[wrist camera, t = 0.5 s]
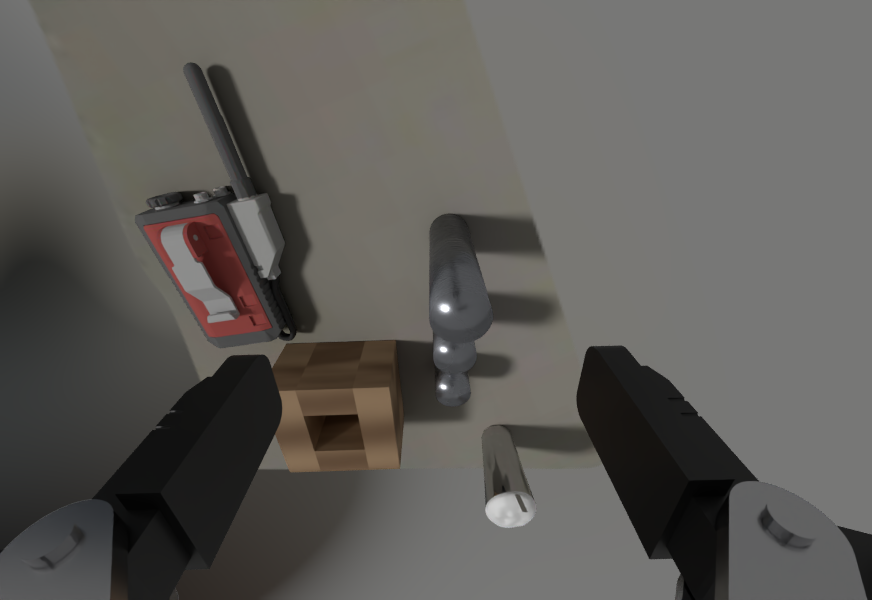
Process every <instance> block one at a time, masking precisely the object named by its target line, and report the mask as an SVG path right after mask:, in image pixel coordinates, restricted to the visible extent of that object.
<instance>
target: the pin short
mask: <svg viewBox="0 0 872 600" xmlns="http://www.w3.org/2000/svg"><path fill="white" fill-rule="evenodd" d="M435 386H436V398H437V400H438V401H439V402H440V403H442V404H443V405H446V406H459V405H462V404H464V403H465V402H466V401H467V400H468V399H469V398H470V394H471V392H470V385H469V377H468V370H467V371H466V372H463V373H459V374H449V373H445V372H443V371H441V370H440V369H438V368H437V367H436V365H435Z"/></svg>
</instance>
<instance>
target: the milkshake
mask: <svg viewBox="0 0 872 600" xmlns="http://www.w3.org/2000/svg"><path fill="white" fill-rule="evenodd" d="M481 439H482V453H483V468H484V482H485V505H486V506H485V507H486V514H487V517H488V518H489V519H490V520H491V521H492V522H493V523H495V524H496V525H498V526H500V527H503V528H513V527H516V526H524V525H525V524H527V523H528V522H529V521H530V520H532V519H533V518H534V516H535V513H536V509H537V508H536V503H535V501H534V498H533V495H532V492H531V490H530V487H529V484H528V481H527V479H526V476H525V474H524V471H523V467H522V464H521V461H520V458H519V455H518V452H517V449H516V446H515V443H514V440H513V437H512V434H511V432H510V431H509V429H508V428H507V427H504V426H501V425H496V426H490V427H489V428H487V429H485V430H484V431H483V434H482V437H481Z"/></svg>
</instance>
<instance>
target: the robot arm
mask: <svg viewBox="0 0 872 600" xmlns="http://www.w3.org/2000/svg"><path fill="white" fill-rule="evenodd" d="M577 408H578V412H579V416H580V418H581V420H582V422H583V424H584V426H585V428H586V430H587V433H588V435H589V437H590V439H591V441H592V443H593V445H594V447H595V449H596V451H597V453H598V455H599V457H600V459H601V461H602V463H603V465H604V467H605V469H606V471H607V473H608V475H609V477H610V479H611V481H612V483H613V485H614V488H615V490H616V492H617V494H618V496H619V498H620V500H621V502H622V504H623V506H624V508H625V510H626V512H627V514H628V516H629V518H630V520H631V522H632V524H633V526H634V528H635V530H636V532H637V535H638V536H639V539H640V541H641V543H642V545H643V547H644V549H645V551H646V553H647V555H648V557H649V559H670V558H671V559H673V560H674V562H675V564H676V566H677V567H678V569H679V571H680V573H681V574H680V576H679V578H678V581H677V586H676V595H675V600H872V535H871V534H867V533H863V532H859V531H855V530H851V529H847V528H843V527H839V526H836V525H835V524H834V523H833V522H832V521H831V520H830V519H829V518H828V517H827V516H826V515H825V514H824V513H822V512H821V511H820V510H819V509H817V508H816V507H814V506H813V505H812V504H810V503H809V502H807V501H806V500H804V499H803V498H801V497H799V496H797V495H795V494H794V493H791V492H789V491H787V490H785V489H783V488H780V487H777V486H775V485H772V484H768V483H763V482H759V481H758V480H757V479H756V477H755V476H754V475H753V474H752V473H751V472H750V471H749V470H748V469H747V467H746V466H745V465H744V464H743V463H742V462H741V461H740V460H739V458H738V457H737V456H736V455H735V454H734V453H733V452H732V451H731V449H730V448H729V447H728V446H727V445H726V444H725V443H724V442H723V440H722V439H721V438H720V437H719V436H718V435H717V434H716V433H715V431H714V430H713V429H712V428H711V427H710V426H709V425H708V424H707V423H706V421H705V420H704V419H703V418H702V417H701V416H700V417H699V416H698V414H697V413H698V412H697V411H696V410H695V409H694V408H693V407H692V406H691V405H690V403H689V402H687V401H684V397H683V396H682V394H681V393H680V392H679V391H678V390H677V389H676V388H675V387H674V385H673V384H672V383H671V382H670V381H669V380H668V379H666V378H665V377H663V376H662V375H660V374H659V373H657V372H656V371H654V370H653V369H651V368H650V367H648V366H641V365H640V364H639V363H638V362H637V361H636V359H635V358H634V357H633V356H632V355H631V353H630V352H629V351H628V350H627V349H626V348H625V347H624V346H591V347H589V348H588V349H587V351H586V354H585V359H584V363H583V368H582V372H581V377H580V381H579V386H578V390H577ZM281 417H282V400H281V396H280V393H279V390H278V387H277V384H276V381H275V377H274V374H273V371H272V368H271V365H270V362H269V359H268V358H267V357H266V356H265V355H233V356H230V357H228V358H227V359H226V360H225V362H224V363H223V364H222V365H221V366H220V368H219V369H218V370H217V371H216V372H215V374H214V375H213V376H212V377H207V378H205V379H204V380H202V381H201V382H200V383H198V384H197V385H195V386H194V387H192V388H191V389H190V390H188V391H187V392H186V393H185V394H184V395H183V396H182V397H181V398H180V399H179V400H178V402H177V403H176V404H175V405H174V406H173V407H172V408H171V410H170V413H169V414H166V415H165V416H164V418H163V419H162V420H161V421H160V422H159V423H158V424H157V426H156V430H152V431H151V432H150V433H149V435H148V436H147V437H146V438H145V439H144V440H143V441H142V443H141V444H140V445H139V446H138V447H137V448H136V449H135V451H134V452H133V453H132V454H131V455H130V456H129V458H128V459H127V460H126V461H125V462H124V463H123V464H122V465H121V467H120V468H119V469H118V470H117V471H116V472H115V474H114V475H113V476H112V477H111V478H110V479H109V480H108V481H107V482H106V484H105V485H104V486H103V487H102V488H101V489H100V490H99V492H98V493H97V494H96V495H95V496H94V497H93V498H92V499H90V500H84V501H79V502H76V503H73V504H70V505H67V506H65V507H62V508H60V509H58V510H56V511H54V512H52V513H50V514H49V515H47V516H45V517H43V518H42V519H40V520H39V521H37V522H36V523H34V524H33V525H31V526H30V527H29V528H27V529H26V530H25V531H24V532H22V533H21V534H20V535H19V536H17V537H16V538H15V539H14V540H13V541H12V542H11V543H10V544H9V545H8V546H7V547H6V548H5V549H3V550H0V600H179V598H178V593H177V591H176V589H175V587H176V585H177V583H178V581H179V579H180V577H181V575H182V574H183V572H184V570H189V569H190V570H191V569H210V567H211V565H212V562H213V560H214V558H215V556H216V554H217V552H218V550H219V548H220V546H221V544H222V542H223V540H224V538H225V535H226V534H227V532H228V529H229V528H230V525H231V523H232V521H233V519H234V517H235V515H236V513H237V511H238V509H239V507H240V505H241V503H242V500H243V499H244V497H245V495H246V493H247V490H248V488H249V486H250V484H251V482H252V480H253V478H254V476H255V474H256V472H257V470H258V468H259V466H260V464H261V462H262V460H263V458H264V455H265V453H266V451H267V449H268V447H269V445H270V443H271V441H272V439H273V437H274V435H275V433H276V431H277V429H278V427H279V424H280V421H281Z"/></svg>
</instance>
